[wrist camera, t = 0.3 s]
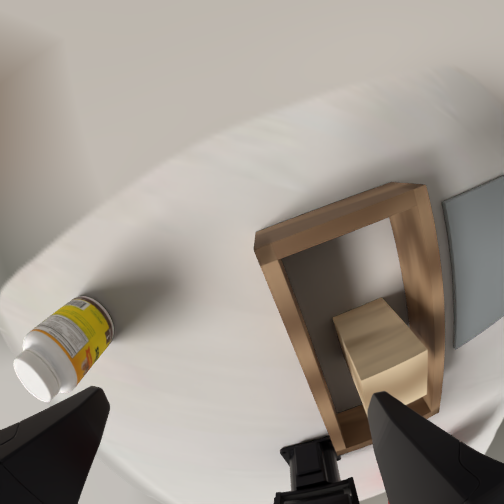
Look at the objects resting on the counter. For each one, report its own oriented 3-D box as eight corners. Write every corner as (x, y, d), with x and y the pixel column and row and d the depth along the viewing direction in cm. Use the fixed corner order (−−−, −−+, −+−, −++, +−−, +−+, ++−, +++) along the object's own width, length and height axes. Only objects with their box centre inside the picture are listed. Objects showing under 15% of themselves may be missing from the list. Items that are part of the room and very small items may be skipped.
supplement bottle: (99, 352, 23) (47, 416, 14) (63, 311, 22) (1, 363, 13) (127, 328, 22) (69, 401, 12) (88, 282, 21) (13, 336, 11)
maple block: (388, 337, 22) (426, 394, 14) (343, 356, 22) (369, 421, 15) (381, 297, 21) (427, 349, 13) (332, 317, 21) (361, 380, 14)
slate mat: (509, 308, 21) (511, 309, 20) (453, 347, 22) (455, 349, 21) (503, 175, 17) (506, 175, 17) (441, 202, 18) (445, 202, 18)
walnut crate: (420, 383, 23) (438, 412, 18) (329, 421, 25) (337, 455, 20) (391, 182, 18) (425, 184, 13) (255, 232, 20) (253, 249, 15)
